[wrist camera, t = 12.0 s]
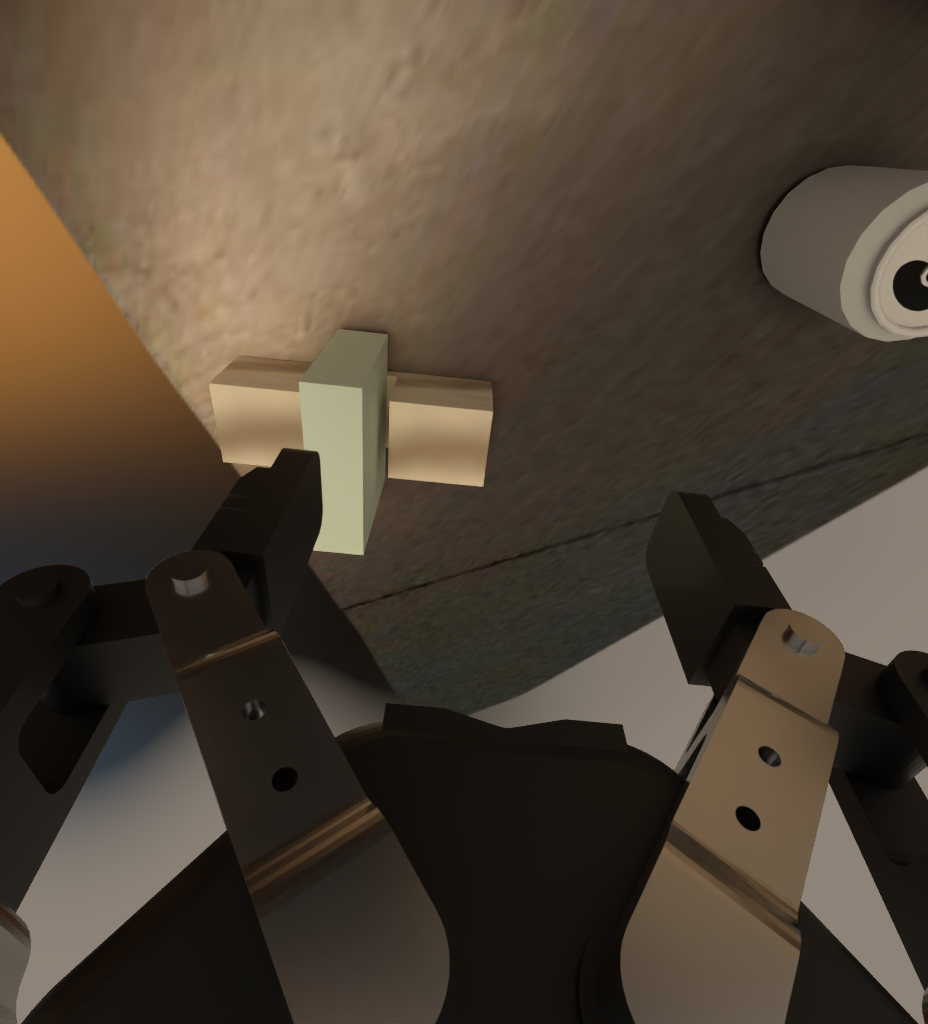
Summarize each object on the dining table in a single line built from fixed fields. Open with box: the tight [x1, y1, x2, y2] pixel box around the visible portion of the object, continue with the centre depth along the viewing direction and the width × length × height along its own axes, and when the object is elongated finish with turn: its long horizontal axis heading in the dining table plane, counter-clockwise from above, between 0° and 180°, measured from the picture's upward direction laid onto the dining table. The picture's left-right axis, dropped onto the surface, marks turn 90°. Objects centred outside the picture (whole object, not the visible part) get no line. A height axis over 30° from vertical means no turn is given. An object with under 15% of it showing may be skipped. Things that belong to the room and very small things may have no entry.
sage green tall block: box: [299, 329, 388, 555], centre depth 37 cm, size 12×4×10 cm, turn 174°
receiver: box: [209, 356, 493, 487], centre depth 40 cm, size 6×19×6 cm, turn 85°
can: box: [760, 165, 928, 342], centre depth 30 cm, size 8×8×12 cm
